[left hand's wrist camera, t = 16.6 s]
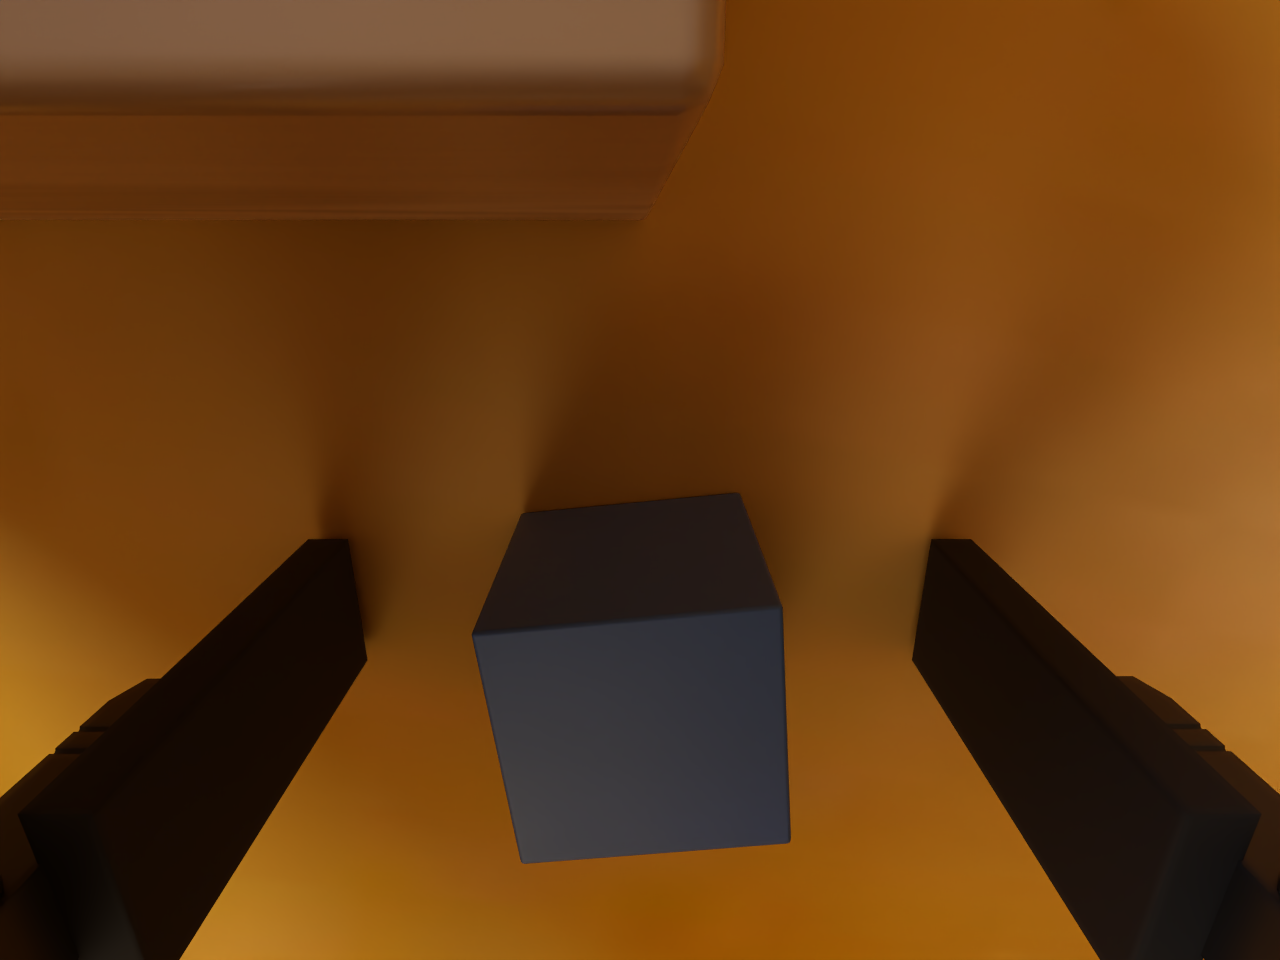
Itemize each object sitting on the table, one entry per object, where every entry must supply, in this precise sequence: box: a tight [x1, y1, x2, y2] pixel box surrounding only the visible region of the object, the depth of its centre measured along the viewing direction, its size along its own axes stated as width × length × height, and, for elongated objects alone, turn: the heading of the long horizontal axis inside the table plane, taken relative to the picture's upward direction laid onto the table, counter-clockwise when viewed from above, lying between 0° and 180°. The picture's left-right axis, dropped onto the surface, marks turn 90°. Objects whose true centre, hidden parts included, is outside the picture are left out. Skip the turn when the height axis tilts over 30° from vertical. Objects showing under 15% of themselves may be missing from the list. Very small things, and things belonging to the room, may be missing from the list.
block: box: [472, 493, 791, 864], centre depth 12 cm, size 4×4×4 cm
